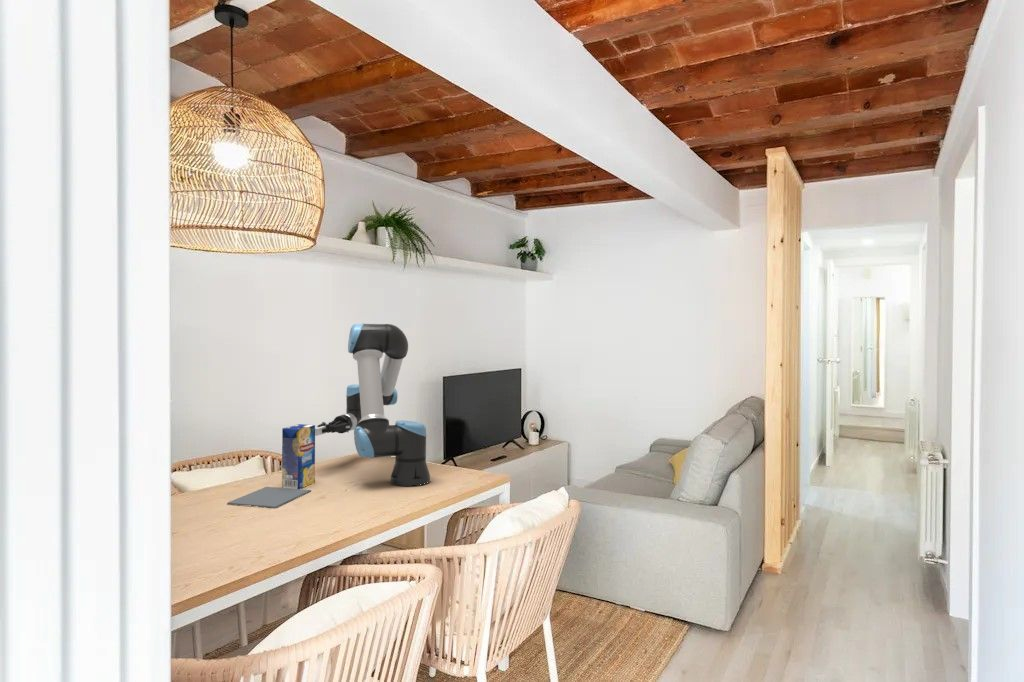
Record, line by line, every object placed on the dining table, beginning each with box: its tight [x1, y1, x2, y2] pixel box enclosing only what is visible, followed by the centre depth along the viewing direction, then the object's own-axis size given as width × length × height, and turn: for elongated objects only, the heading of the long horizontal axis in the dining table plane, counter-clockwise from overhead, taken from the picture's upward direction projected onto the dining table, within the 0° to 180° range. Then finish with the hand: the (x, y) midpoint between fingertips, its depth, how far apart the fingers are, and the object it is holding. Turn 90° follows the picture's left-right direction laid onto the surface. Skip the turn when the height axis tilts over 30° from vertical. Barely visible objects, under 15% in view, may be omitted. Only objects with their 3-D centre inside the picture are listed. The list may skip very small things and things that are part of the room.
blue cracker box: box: [281, 423, 316, 489], centre depth 240 cm, size 7×11×22 cm, turn 166°
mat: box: [226, 486, 312, 509], centre depth 223 cm, size 18×22×1 cm
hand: (315, 432), depth 252 cm, fingers closed
